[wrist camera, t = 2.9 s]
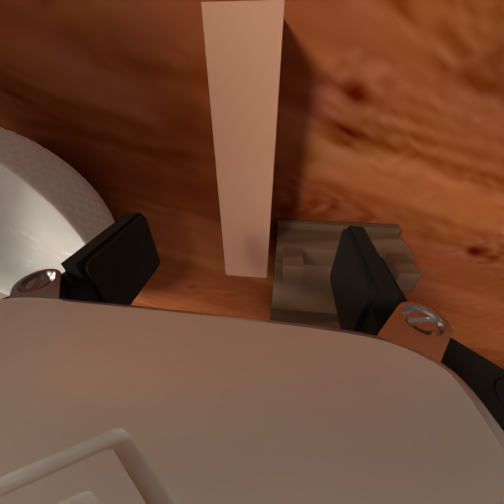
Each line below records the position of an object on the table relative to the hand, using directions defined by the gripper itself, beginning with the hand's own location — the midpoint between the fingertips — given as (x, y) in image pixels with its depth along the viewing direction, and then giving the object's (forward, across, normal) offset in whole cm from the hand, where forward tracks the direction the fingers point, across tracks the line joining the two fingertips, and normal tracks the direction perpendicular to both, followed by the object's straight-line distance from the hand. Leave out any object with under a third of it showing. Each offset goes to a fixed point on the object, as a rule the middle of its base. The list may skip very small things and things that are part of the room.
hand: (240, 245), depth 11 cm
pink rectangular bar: (+11, +1, 0) cm, 11 cm away
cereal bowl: (+10, +21, +4) cm, 23 cm away
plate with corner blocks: (+11, -7, +12) cm, 17 cm away
